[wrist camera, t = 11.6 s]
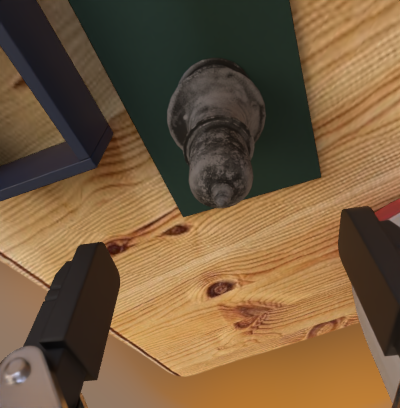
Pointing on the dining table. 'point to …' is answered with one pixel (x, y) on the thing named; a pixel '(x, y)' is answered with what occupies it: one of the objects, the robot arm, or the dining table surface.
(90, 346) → the robot arm
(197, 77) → the grey flared post
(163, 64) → the mat
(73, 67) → the crate
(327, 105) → the dining table surface
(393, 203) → the citrus juicer
